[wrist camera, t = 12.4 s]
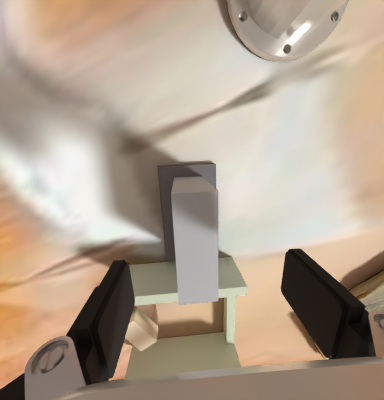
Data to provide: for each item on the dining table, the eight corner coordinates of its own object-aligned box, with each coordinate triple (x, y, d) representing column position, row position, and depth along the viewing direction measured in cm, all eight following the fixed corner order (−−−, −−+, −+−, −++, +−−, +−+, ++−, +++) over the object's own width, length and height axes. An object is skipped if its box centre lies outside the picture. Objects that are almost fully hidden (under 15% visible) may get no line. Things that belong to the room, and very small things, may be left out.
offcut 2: (122, 317, 24) (117, 331, 22) (137, 306, 23) (133, 320, 22) (144, 336, 25) (141, 351, 23) (158, 326, 25) (156, 341, 23)
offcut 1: (130, 290, 26) (124, 307, 23) (152, 287, 26) (149, 303, 23) (138, 320, 28) (133, 339, 25) (158, 317, 28) (156, 336, 25)
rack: (121, 265, 25) (103, 299, 19) (231, 256, 26) (247, 286, 20) (134, 346, 29) (123, 395, 23) (230, 336, 30) (243, 381, 24)
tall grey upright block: (174, 177, 22) (170, 193, 13) (202, 176, 22) (218, 191, 13) (178, 250, 24) (179, 304, 16) (204, 248, 24) (218, 301, 16)
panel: (158, 166, 22) (157, 166, 21) (214, 163, 22) (215, 163, 22) (166, 259, 25) (166, 261, 25) (215, 255, 25) (216, 257, 25)
